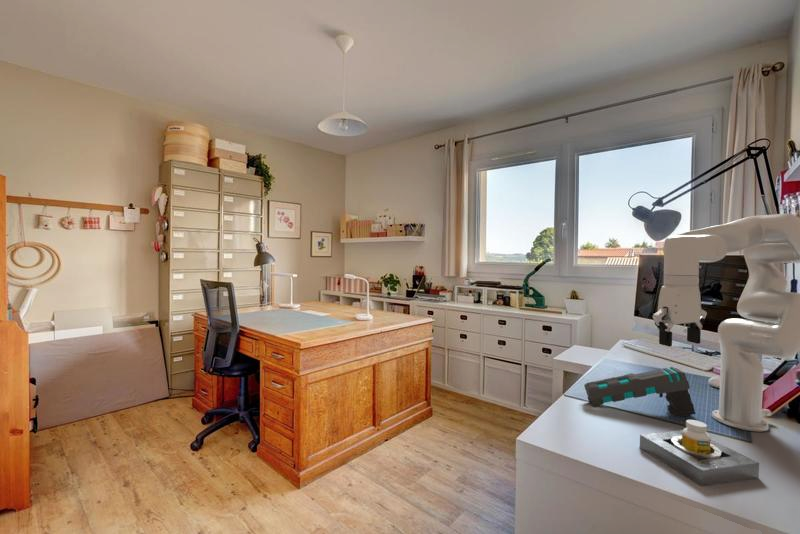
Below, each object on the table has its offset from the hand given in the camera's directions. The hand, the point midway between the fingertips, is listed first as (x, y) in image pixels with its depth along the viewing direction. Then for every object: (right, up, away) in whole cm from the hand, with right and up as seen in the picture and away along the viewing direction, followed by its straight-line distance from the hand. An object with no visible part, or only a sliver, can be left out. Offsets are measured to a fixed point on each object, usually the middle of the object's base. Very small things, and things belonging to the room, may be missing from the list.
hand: (679, 343), depth 99 cm
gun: (+2, -26, +21) cm, 33 cm away
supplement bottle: (-4, -27, -10) cm, 29 cm away
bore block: (-4, -27, -10) cm, 29 cm away
